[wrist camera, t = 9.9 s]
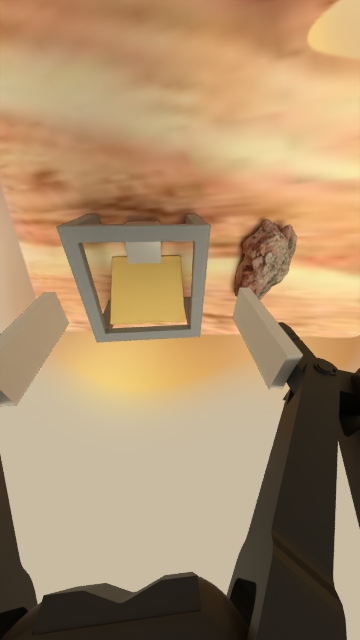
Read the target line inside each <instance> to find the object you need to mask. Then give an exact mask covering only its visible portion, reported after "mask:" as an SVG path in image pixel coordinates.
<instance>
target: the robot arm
mask: <svg viewBox="0 0 360 640" xmlns="http://www.w3.org/2000/svg"><path fill="white" fill-rule="evenodd" d="M233 319H234V321H235V323H236V325H237V327H238V329H239V331H240V333H241V335H242V337H243V339H244V341H245V343H246V345H247V347H248V349H249V351H250V353H251V355H252V357H253V359H254V361H255V363H256V365H257V367H258V369H259V371H260V373H261V375H262V377H263V379H264V381H265V383H266V385H267V387H268V389H282V388H283V387H284V385H285V383H286V382H287V384H288V386H289V387H290V389H289V391H288V393H287V394H286V395H285V397H284V398H283V400H285V404H284V408H283V411H282V415H281V418H280V422H279V425H278V429H277V432H276V436H275V439H274V443H273V446H272V450H271V453H270V457H269V461H268V464H267V468H266V471H265V475H264V478H263V482H262V485H261V489H260V493H259V496H258V500H257V503H256V507H255V510H254V514H253V518H252V521H251V524H250V528H249V532H248V535H247V538H246V540H245V542H244V544H243V546H242V549H241V551H240V553H239V556H238V559H237V562H236V565H235V569H234V572H233V575H232V579H231V582H230V586H229V589H228V593H227V596H226V595H225V594H224V593H223V592H222V591H221V590H220V589H218V588H217V587H216V586H215V585H213V584H212V583H210V582H209V581H207V580H205V579H203V578H202V577H199V576H197V575H196V574H195V573H193V572H187V573H179V574H172V575H165V576H163V577H161V578H160V579H158V580H156V581H154V582H153V583H151V584H149V585H148V586H146V587H144V588H142V589H141V590H139V591H137V592H130V591H127V590H124V589H121V588H119V587H116V586H113V585H110V584H107V583H103V584H95V585H87V586H79V587H74V588H70V589H67V590H63V591H59V592H55V593H51V594H47V595H44V596H43V599H42V602H41V603H40V604H37V599H36V594H35V590H34V586H33V583H32V580H31V578H30V576H29V574H28V573H27V572H26V571H25V570H24V569H23V567H22V565H21V562H20V557H19V552H18V547H17V542H16V536H15V531H14V526H13V520H12V515H11V510H10V505H9V499H8V494H7V488H6V483H5V477H4V472H3V467H2V461H1V456H0V640H347V636H346V622H345V615H344V610H343V606H342V603H341V601H340V599H339V597H338V594H337V592H336V590H335V587H334V582H333V559H334V533H335V507H336V479H337V452H338V442H339V446H340V450H341V454H342V458H343V462H344V466H345V470H346V474H347V478H348V482H349V487H350V491H351V495H352V499H353V503H354V507H355V511H356V515H357V519H358V523H359V527H360V368H359V369H358V370H357V371H356V373H351V372H347V371H341V370H338V369H337V368H336V367H335V366H334V365H333V364H332V363H330V362H328V361H326V360H324V359H320V358H316V357H315V356H314V355H313V353H312V352H311V351H310V350H309V348H308V347H307V346H306V345H305V344H304V343H303V341H301V340H300V338H299V337H298V336H297V335H296V333H295V332H294V331H293V330H292V329H291V327H289V326H288V325H286V324H285V323H283V322H280V323H277V321H276V320H275V319H274V318H273V316H272V315H271V314H270V313H269V311H268V310H267V309H266V308H265V306H264V305H263V304H262V303H261V301H260V300H259V299H258V298H257V296H256V295H255V294H254V293H253V291H252V290H251V289H250V288H239V292H238V296H237V301H236V305H235V309H234V314H233ZM68 324H69V322H68V319H67V317H66V315H65V313H64V311H63V308H62V306H61V304H60V302H59V299H58V297H57V295H56V293H55V292H44V293H43V294H42V295H41V296H40V297H38V298H37V299H36V300H35V301H34V302H33V303H32V304H31V305H30V306H29V307H28V308H27V309H26V310H25V311H24V312H23V313H22V314H21V315H20V316H19V317H18V318H17V319H16V320H15V321H14V322H13V323H12V324H11V325H10V326H9V327H8V328H6V329H5V331H3V332H2V333H1V334H0V407H2V406H16V405H17V404H18V403H19V401H20V399H21V398H22V396H23V395H24V393H25V392H26V390H27V388H28V387H29V385H30V384H31V382H32V381H33V379H34V378H35V376H36V374H37V373H38V371H39V370H40V368H41V366H42V365H43V363H44V362H45V360H46V359H47V357H48V356H49V354H50V352H51V351H52V349H53V347H54V346H55V345H56V343H57V342H58V340H59V338H60V337H61V335H62V334H63V332H64V331H65V329H66V327H67V326H68Z"/></svg>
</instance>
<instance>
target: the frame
mask: <svg viewBox="0 0 360 640" xmlns="http://www.w3.org/2000/svg"><path fill="white" fill-rule="evenodd" d="M210 227H211V225H209V224H208V223H207V222H206V221H204V220H203V219H202V218H201V217H199V216H198V215H197V214H186V218H185V224H101V223H100V218H99V214H87V215H84V216H82V217H79V218H77V219H74V220H72V221H69V222H67V223H64V224H62V225H59V226H57V230H58V233H59V236H60V239H61V241H62V244H63V247H64V250H65V253H66V256H67V259H68V261H69V264H70V267H71V270H72V273H73V276H74V279H75V281H76V284H77V287H78V290H79V293H80V296H81V299H82V301H83V304H84V307H85V310H86V313H87V316H88V319H89V321H90V324H91V327H92V330H93V333H94V336H95V339H96V341H97V342H111V341H131V340H149V339H168V338H184V337H185V338H186V337H200V333H201V323H202V312H203V301H204V291H205V280H206V269H207V259H208V248H209V237H210ZM178 241H194V242H193V263H192V284H191V297H187V298H184V309H185V314H186V319H187V324H188V325H173V326H153V327H133V328H112V327H113V325H111V324H110V321H111V300H109V302H108V304H107V306H106V308H105V311H104V313H102V310H101V306H100V303H99V299H98V296H97V292H96V289H95V286H94V282H93V279H92V275H91V272H90V268H89V265H88V261H87V258H86V254H85V251H84V248H83V244H82V243H110V242H178Z"/></svg>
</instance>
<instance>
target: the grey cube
mask: <svg viewBox="0 0 360 640" xmlns="http://www.w3.org/2000/svg"><path fill="white" fill-rule="evenodd" d="M126 224H160V221H132V222H127V223H126ZM125 245H126V251H127V258H128V264H133V263H162V262H161V242H125Z"/></svg>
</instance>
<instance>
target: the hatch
mask: <svg viewBox="0 0 360 640" xmlns="http://www.w3.org/2000/svg"><path fill="white" fill-rule="evenodd" d="M161 262H162V263H133V264H128V258H127V257H112V286H111V321H110V324H111V325H121V324H142V323H163V322H184V321H185V314H184V300H183V287H182V273H181V259H180V256H161Z"/></svg>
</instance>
